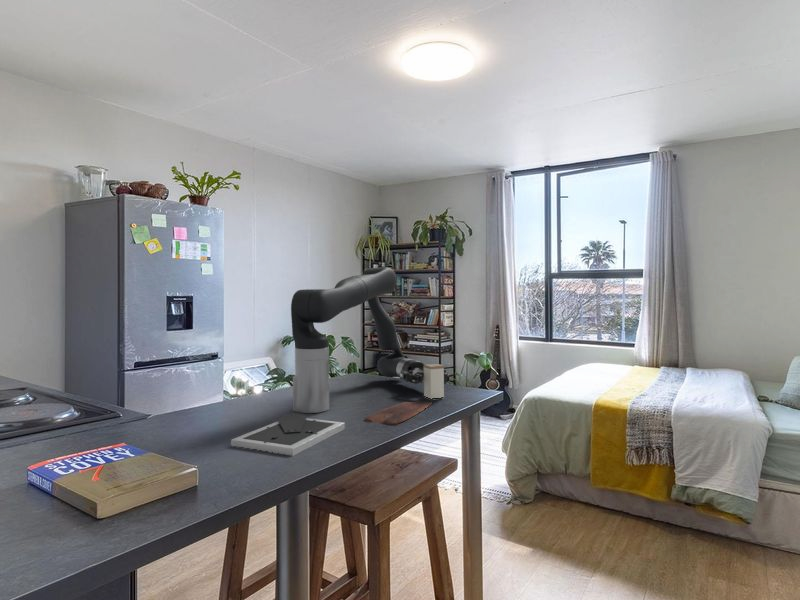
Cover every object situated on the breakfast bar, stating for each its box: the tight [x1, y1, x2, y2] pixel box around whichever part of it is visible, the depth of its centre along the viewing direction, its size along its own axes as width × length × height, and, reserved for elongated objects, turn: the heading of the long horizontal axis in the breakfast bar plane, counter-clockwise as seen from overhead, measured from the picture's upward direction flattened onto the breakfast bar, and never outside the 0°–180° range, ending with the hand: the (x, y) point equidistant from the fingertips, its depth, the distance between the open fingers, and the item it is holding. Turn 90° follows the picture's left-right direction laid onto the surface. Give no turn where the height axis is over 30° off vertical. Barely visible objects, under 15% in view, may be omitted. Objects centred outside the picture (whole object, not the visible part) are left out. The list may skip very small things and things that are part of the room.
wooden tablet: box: [364, 401, 433, 426], centre depth 132 cm, size 26×2×10 cm
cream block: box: [423, 363, 445, 399], centre depth 149 cm, size 5×5×10 cm
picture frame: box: [230, 413, 346, 457], centre depth 109 cm, size 16×3×21 cm
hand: (434, 378), depth 149 cm, fingers open, 8 cm apart
